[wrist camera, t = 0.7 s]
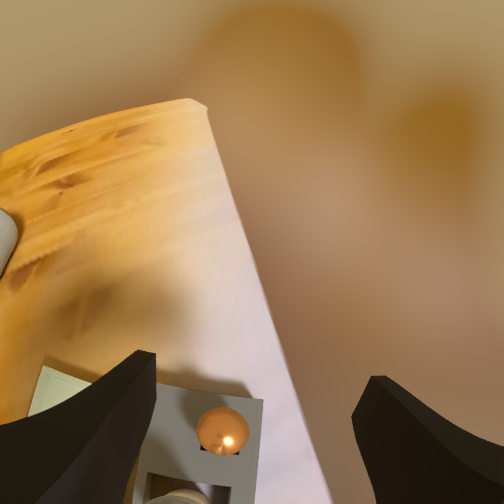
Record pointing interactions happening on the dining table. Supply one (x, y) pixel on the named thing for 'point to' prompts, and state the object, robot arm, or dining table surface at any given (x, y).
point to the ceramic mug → (7, 237)
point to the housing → (197, 444)
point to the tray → (54, 389)
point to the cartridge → (181, 498)
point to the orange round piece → (222, 431)
